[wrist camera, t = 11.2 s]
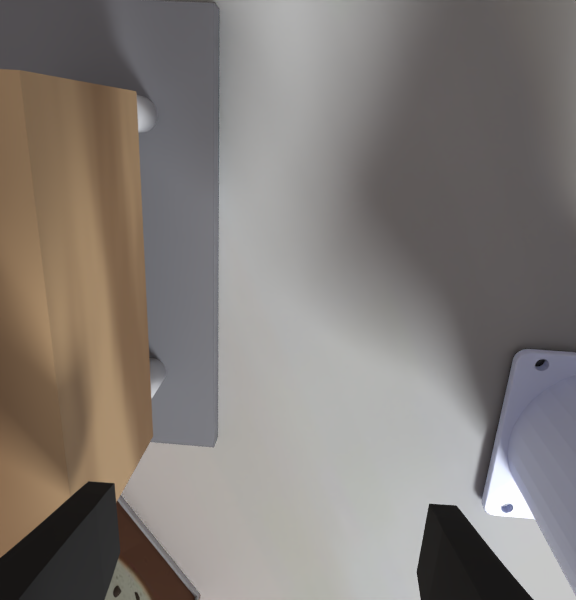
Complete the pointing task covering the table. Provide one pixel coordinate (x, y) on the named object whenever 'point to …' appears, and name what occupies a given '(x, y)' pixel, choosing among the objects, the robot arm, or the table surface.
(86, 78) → the peg plate
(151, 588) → the food container
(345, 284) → the table surface
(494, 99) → the table surface
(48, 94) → the shelf block
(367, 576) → the table surface
